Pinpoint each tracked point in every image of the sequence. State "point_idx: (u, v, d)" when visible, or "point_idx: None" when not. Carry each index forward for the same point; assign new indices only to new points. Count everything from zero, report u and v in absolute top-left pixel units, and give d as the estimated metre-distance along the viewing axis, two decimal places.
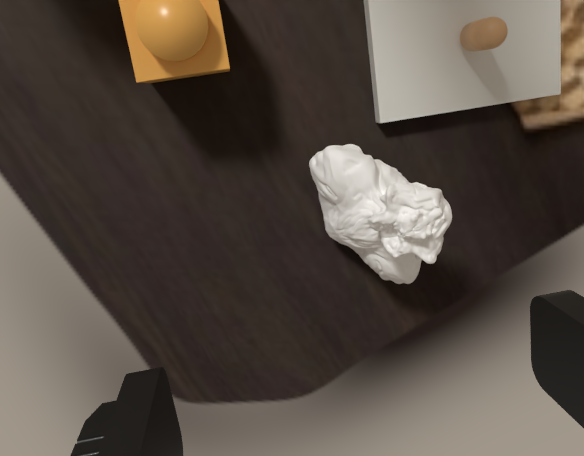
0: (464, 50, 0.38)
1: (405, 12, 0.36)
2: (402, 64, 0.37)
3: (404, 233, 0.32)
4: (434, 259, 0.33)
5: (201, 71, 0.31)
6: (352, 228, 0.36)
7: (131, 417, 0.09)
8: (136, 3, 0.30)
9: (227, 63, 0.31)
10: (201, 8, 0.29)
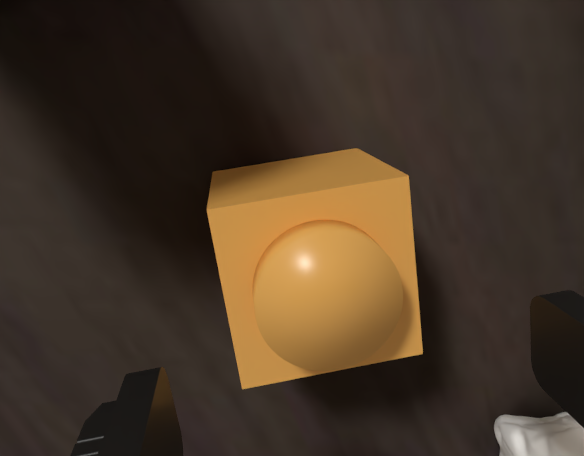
0: None
1: None
2: None
3: None
4: None
5: (368, 362, 0.16)
6: None
7: (131, 417, 0.09)
8: (250, 250, 0.14)
9: (419, 346, 0.16)
10: (392, 272, 0.14)
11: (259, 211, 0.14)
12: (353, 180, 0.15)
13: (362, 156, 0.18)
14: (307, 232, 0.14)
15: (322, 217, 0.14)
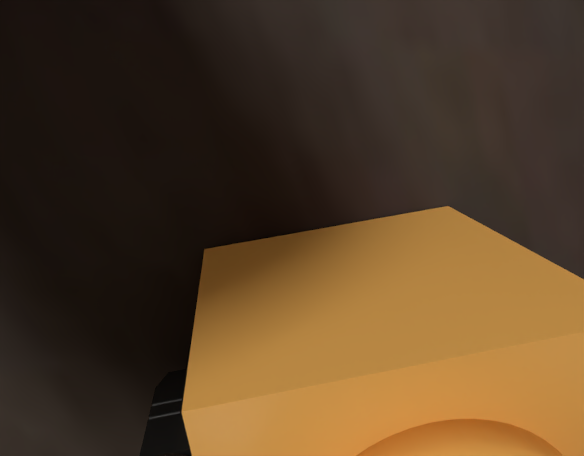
0: None
1: None
2: None
3: None
4: None
5: None
6: None
7: None
8: None
9: None
10: None
11: (308, 409, 0.06)
12: (517, 322, 0.07)
13: (475, 231, 0.10)
14: None
15: (453, 415, 0.06)
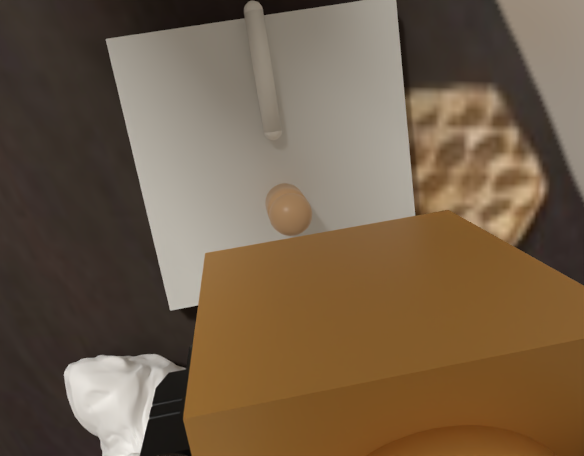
0: None
1: (189, 171, 0.26)
2: (192, 236, 0.27)
3: None
4: None
5: None
6: None
7: None
8: None
9: None
10: None
11: (309, 416, 0.06)
12: (516, 329, 0.07)
13: (475, 235, 0.10)
14: None
15: (453, 421, 0.06)
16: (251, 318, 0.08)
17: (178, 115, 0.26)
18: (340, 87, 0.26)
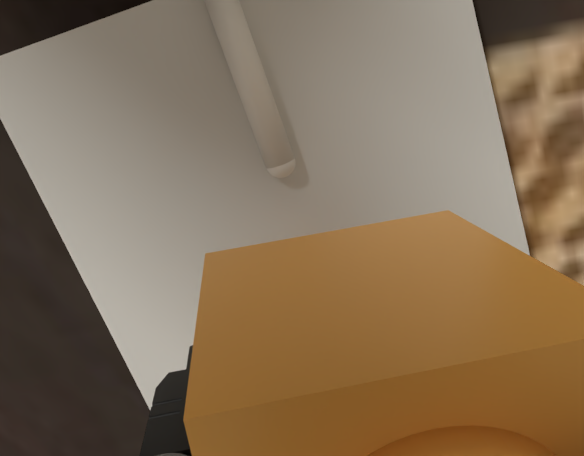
0: None
1: (159, 251, 0.16)
2: (186, 347, 0.17)
3: None
4: None
5: None
6: None
7: None
8: None
9: None
10: None
11: (309, 416, 0.06)
12: (517, 328, 0.07)
13: (475, 235, 0.10)
14: None
15: (453, 422, 0.06)
16: (251, 318, 0.08)
17: (122, 167, 0.15)
18: (378, 69, 0.16)
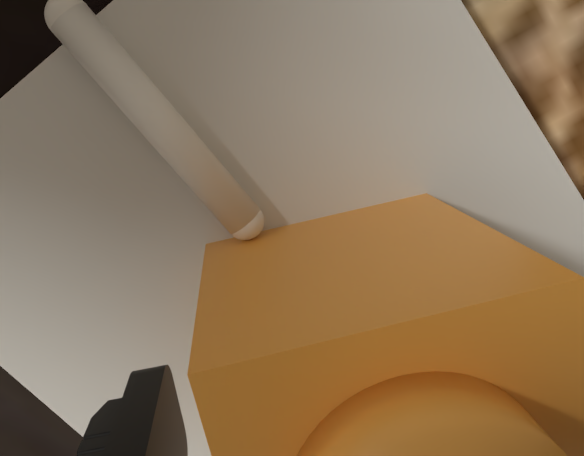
0: None
1: (142, 365, 0.13)
2: None
3: None
4: None
5: None
6: None
7: (137, 413, 0.09)
8: (278, 440, 0.07)
9: None
10: None
11: (293, 368, 0.07)
12: (470, 288, 0.08)
13: (448, 214, 0.11)
14: (399, 422, 0.06)
15: (417, 368, 0.07)
16: (246, 295, 0.09)
17: (63, 286, 0.13)
18: (327, 63, 0.12)
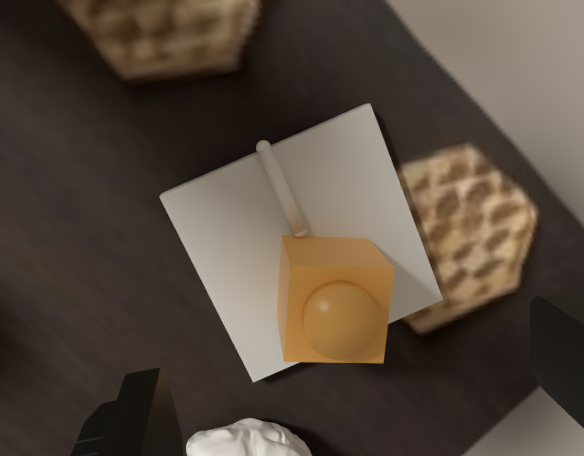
0: None
1: (243, 275, 0.33)
2: (257, 322, 0.34)
3: None
4: None
5: (353, 361, 0.29)
6: None
7: (131, 417, 0.09)
8: (306, 289, 0.28)
9: (382, 358, 0.29)
10: (377, 315, 0.27)
11: (316, 270, 0.27)
12: (366, 264, 0.28)
13: (371, 246, 0.32)
14: (339, 286, 0.27)
15: (346, 279, 0.28)
16: (302, 252, 0.29)
17: (225, 236, 0.33)
18: (344, 183, 0.33)
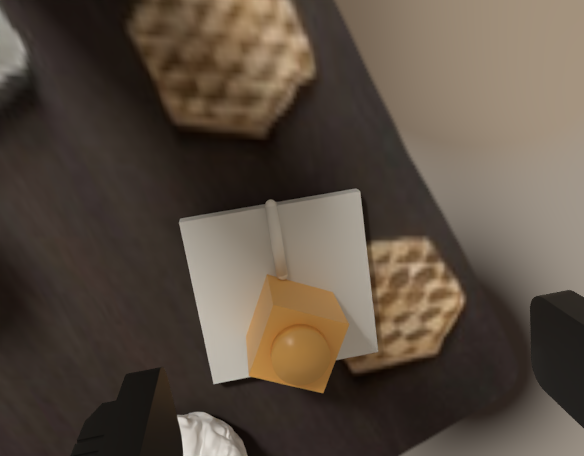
0: None
1: (228, 298, 0.41)
2: (229, 337, 0.42)
3: None
4: None
5: (301, 387, 0.37)
6: None
7: (131, 417, 0.09)
8: (280, 325, 0.36)
9: (323, 389, 0.38)
10: (328, 357, 0.36)
11: (291, 313, 0.36)
12: (329, 316, 0.37)
13: (334, 300, 0.40)
14: (305, 330, 0.35)
15: (312, 325, 0.36)
16: (282, 295, 0.38)
17: (222, 265, 0.40)
18: (325, 245, 0.41)
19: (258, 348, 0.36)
